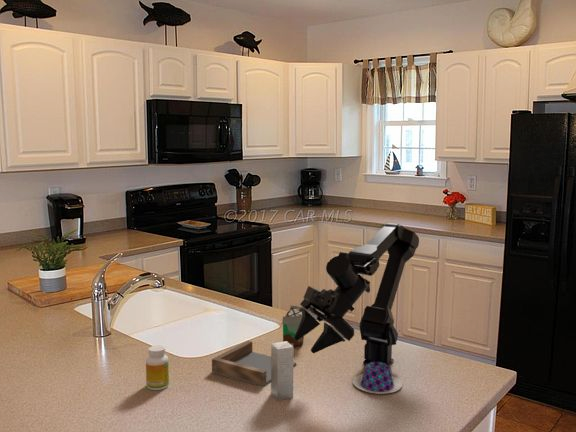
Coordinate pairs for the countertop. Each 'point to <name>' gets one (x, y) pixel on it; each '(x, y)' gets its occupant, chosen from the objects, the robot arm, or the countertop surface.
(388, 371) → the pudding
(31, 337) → the countertop surface
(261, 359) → the corner mat
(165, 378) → the supplement bottle
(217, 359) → the corner walls
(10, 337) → the countertop surface
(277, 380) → the aluminium post
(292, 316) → the food container
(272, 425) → the countertop surface
